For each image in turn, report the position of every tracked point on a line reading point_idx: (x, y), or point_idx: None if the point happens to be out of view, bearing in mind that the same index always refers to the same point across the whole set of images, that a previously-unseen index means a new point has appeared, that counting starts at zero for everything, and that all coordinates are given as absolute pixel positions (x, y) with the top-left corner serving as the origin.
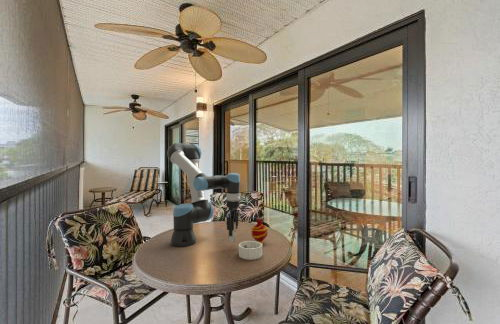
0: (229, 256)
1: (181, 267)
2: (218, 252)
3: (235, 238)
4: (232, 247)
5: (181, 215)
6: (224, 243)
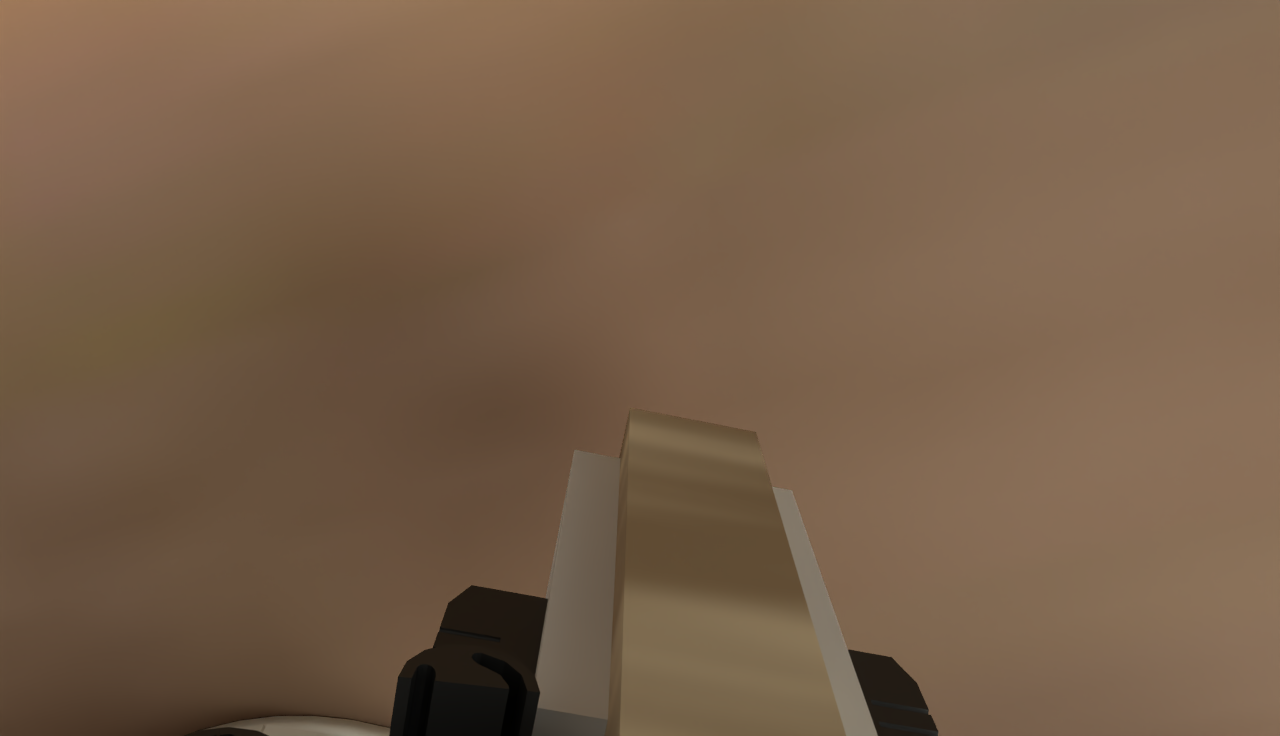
0: (75, 536)
1: None
2: (245, 157)
3: None
4: None
5: None
6: (1052, 82)
